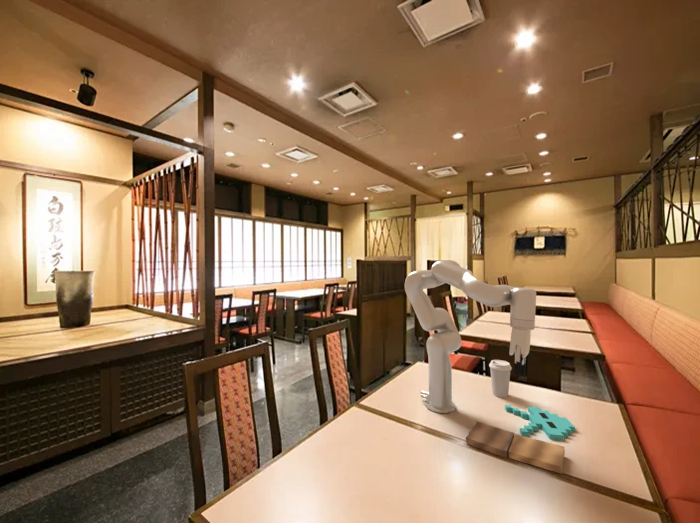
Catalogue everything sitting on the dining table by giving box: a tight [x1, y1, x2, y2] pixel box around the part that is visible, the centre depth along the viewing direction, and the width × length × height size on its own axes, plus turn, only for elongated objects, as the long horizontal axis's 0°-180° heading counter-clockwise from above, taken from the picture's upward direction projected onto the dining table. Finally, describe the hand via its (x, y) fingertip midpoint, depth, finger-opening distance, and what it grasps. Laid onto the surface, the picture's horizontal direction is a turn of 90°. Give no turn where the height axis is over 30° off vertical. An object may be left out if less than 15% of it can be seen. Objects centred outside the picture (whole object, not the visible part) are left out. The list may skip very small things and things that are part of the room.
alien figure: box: [504, 404, 576, 441], centre depth 115 cm, size 20×2×20 cm
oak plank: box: [508, 433, 565, 475], centre depth 96 cm, size 14×12×2 cm
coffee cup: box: [488, 359, 513, 399], centre depth 141 cm, size 10×10×15 cm
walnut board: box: [465, 420, 516, 459], centre depth 105 cm, size 13×13×2 cm
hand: (519, 374), depth 106 cm, fingers closed
